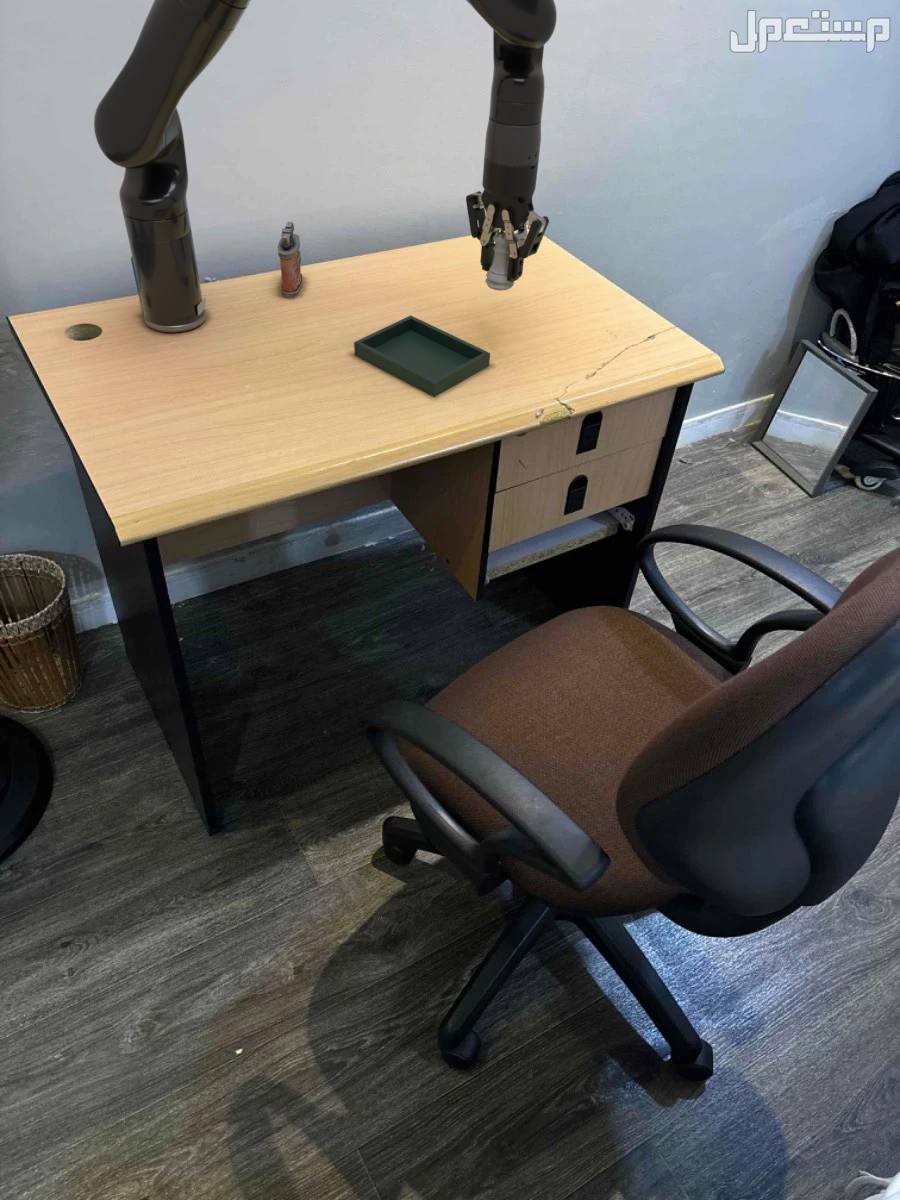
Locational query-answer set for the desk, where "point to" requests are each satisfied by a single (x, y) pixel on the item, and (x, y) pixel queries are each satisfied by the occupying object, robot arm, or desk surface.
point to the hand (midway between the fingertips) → (500, 274)
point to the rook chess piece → (499, 264)
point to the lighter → (290, 262)
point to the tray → (422, 355)
